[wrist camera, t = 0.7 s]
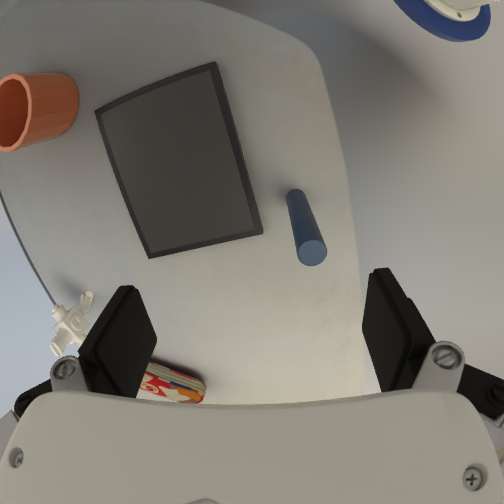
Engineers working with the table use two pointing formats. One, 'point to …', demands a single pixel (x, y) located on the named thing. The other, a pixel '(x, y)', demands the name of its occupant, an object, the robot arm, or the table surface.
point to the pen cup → (35, 108)
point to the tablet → (180, 163)
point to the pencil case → (172, 384)
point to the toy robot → (70, 324)
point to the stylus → (305, 230)
